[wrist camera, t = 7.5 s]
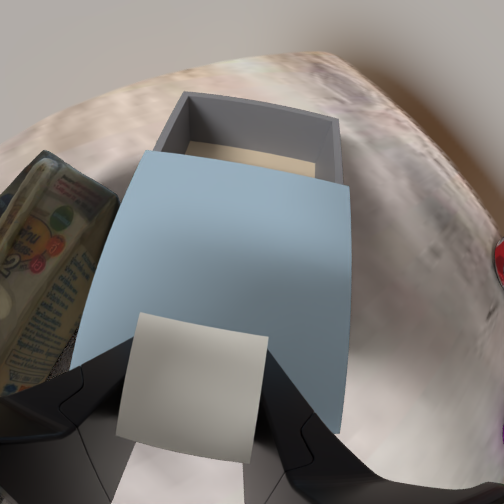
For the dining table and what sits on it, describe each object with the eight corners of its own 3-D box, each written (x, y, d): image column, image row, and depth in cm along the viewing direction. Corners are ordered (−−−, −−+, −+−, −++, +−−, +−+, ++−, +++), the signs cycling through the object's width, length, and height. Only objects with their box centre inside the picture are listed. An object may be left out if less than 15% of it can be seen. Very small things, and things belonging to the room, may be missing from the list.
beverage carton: (146, 245, 19) (121, 183, 13) (11, 464, 11) (-49, 475, 5) (71, 196, 20) (39, 137, 14) (-48, 387, 12) (-105, 373, 6)
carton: (313, 308, 18) (344, 280, 14) (137, 276, 18) (115, 238, 13) (319, 164, 24) (338, 119, 19) (186, 140, 23) (183, 91, 19)
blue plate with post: (332, 431, 11) (435, 454, 5) (75, 383, 10) (-33, 362, 4) (344, 195, 16) (398, 100, 10) (147, 159, 16) (128, 53, 10)
